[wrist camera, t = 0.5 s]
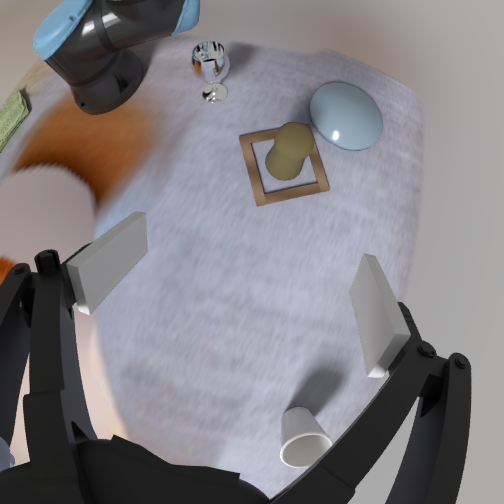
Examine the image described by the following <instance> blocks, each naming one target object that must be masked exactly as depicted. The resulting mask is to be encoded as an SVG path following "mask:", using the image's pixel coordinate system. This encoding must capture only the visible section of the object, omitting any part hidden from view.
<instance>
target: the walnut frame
mask: <svg viewBox="0 0 504 504" xmlns="http://www.w3.org/2000/svg"><path fill="white" fill-rule="evenodd" d="M305 126H307V127H308V128H309V129H310V127H309V124H305ZM277 131H278V129H273V130H268V131H263V132H257V133H252V134H247V135H243V136H239V140H240V144H241V147H242V151H243V155H244V159H245V162H246V166H247V170H248V174H249V178H250V181H251V185H252V189H253V193H254V197H255V201H256V205H257V206H261V205H266V204H270V203H274V202H279V201H283V200H287V199H292V198H297V197H301V196H306V195H310V194H315V193H320V192H325V191H329V186H328V183H327V179H326V176H325V173H324V170H323V166H322V163H321V160H320V157H319V154H318V151H317V148H316V145H315V142H314V148H313V150H312V152H311V153H310V154H309V156H310V160H311V163H312V166H313V169H314V173H315V176H316V179H317V183H316V184H311V185H306V186H301V187H296V188H291V189H287V190H282V191H277V192H273V193H268V194H264V192H263V188H262V184H261V180H260V177H259V173H258V169H257V166H256V162H255V158H254V155H253V151H252V147H251V144H250V143H255V142H260V141H265V140H270V139H275V134H276V132H277Z"/></svg>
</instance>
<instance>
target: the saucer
mask: <svg viewBox="0 0 504 504" xmlns="http://www.w3.org/2000/svg"><path fill="white" fill-rule="evenodd" d="M309 111H310V117H311V120H312V122H313V124H314V126H315V128H316V129H317V131H318V132H319V133H320V134H321V135H322V136H323V137H324V138H325V139H326V140H327V141H329V142H330V143H332V144H333V145H335V146H337V147H339V148H342V149H345V150H351V151H360V150H364V149H367V148H369V147H370V146H372V145H373V144H374V143H375V142H377V140H378V139H379V138H380V136H381V133H382V130H383V120H382V116H381V113H380V110H379V108H378V107H377V105H376V104H375V102H374V101H373V100H372V99H371V98H370V97H369V96H368V95H367V94H366V93H365V92H363V91H362V90H360V89H359V88H357V87H355V86H352V85H350V84H346V83H340V82H334V83H328V84H325V85H323V86H321V87H320V88H319V89H317V91H316V92H315V93H314V95H313V97H312V99H311V102H310V107H309Z"/></svg>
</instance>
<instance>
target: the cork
mask: <svg viewBox="0 0 504 504" xmlns="http://www.w3.org/2000/svg"><path fill="white" fill-rule="evenodd" d="M274 142H275V144H274V146H273V147H272V148H271V150H270V151H269V153H268V154H267V156H266V161H265V164H266V168H267V170H268V172H269V173H270V174H271V175H272V176H273V177H274V178H276V179H278V180H283V181H286V180H291V179H294V178H296V177H297V176H298V175H299V174H300V171H301V169H302V166H303V162H304V159H305V158H306V157H307V156H308V155H309V154H310V153H311V152H312V150H313V148H314V142H315V140H314V136H313V133H312V132H311V130H310V129H309V128H308V127H307V126H305V125H303V124H301V123H297V122H289V123H286V124H284V125H283V126H281V127H280V128H279V129H278V131H277V132H276V134H275V140H274Z"/></svg>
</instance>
